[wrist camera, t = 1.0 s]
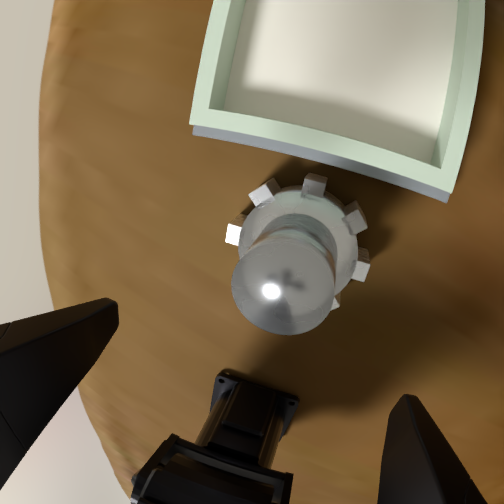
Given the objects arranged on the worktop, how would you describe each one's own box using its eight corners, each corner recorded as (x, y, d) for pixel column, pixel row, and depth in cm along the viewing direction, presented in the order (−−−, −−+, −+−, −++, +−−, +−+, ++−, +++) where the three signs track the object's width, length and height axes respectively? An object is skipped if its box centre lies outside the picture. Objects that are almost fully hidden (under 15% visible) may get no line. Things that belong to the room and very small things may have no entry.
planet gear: (344, 311, 18) (340, 382, 13) (229, 277, 20) (186, 333, 14) (385, 194, 15) (406, 231, 10) (250, 158, 17) (204, 176, 11)
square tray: (438, 196, 14) (459, 214, 11) (204, 133, 17) (173, 136, 14) (474, -14, 9) (496, -37, 6) (247, -64, 11) (227, -93, 8)
